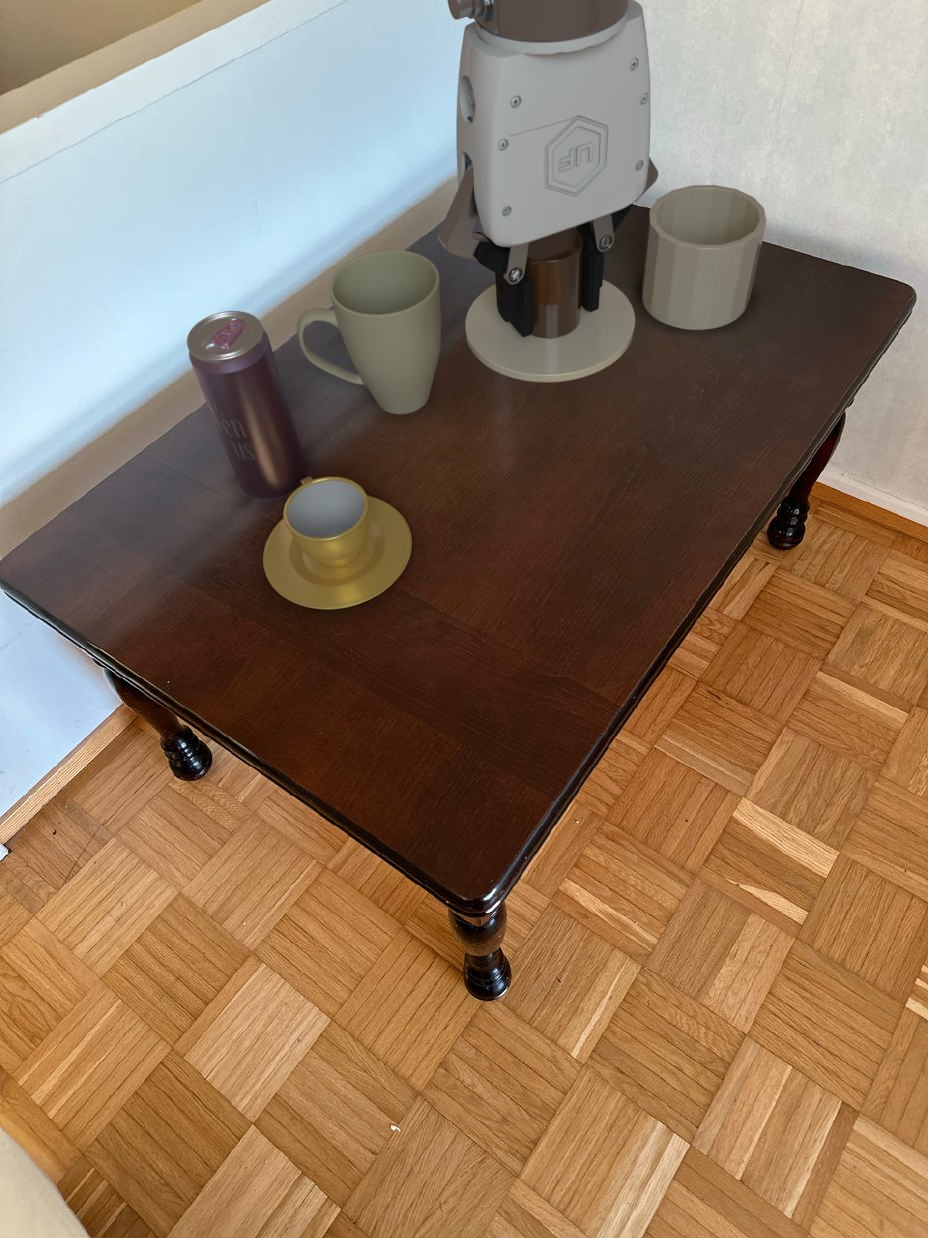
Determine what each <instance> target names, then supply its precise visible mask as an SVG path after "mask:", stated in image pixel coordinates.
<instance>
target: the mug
mask: <svg viewBox="0 0 928 1238" xmlns="http://www.w3.org/2000/svg"><path fill="white" fill-rule="evenodd" d="M440 285H441V284H440V273H439V270H438V268H437V266H436V265H435V263H433V262H432V261H431V260H430V259H429V258H427V257H426V256H424V255H422V254H420V253H417V252H413V251H409V250H404V249H382V250H375V251H371V252H367V253H364V254H362V255H361V254H360V255H359V256H356V257H354V258H352V259H350V260H348V261H347V262H346V263H344V264H343V265H341V267H339V268H338V269H337V270H336V272H334V274H333V275H332V277H331V279H330V282H329V287H328V288H329V295H330V299H331V303H332V306H333V308H323V307H313V308H309V309H307V310H305V311H303V312H302V313H301V314H300V315H299V317H298V320H297V324H296V334H297V340H298V344H299V347H300V349H301V351H302V353H303V355H304V356H305V358H306V359H307V360H308V361H309V362H310V363H312V364H313V365H314V366H315V367H317V368H319V369H320V370H322V371H324V372H326V373H328V374H330V375H331V376H334V377H336V378H339V379H341V380H344V381H346V382H349V383H352V384H356V385H358V386H359V385H360V386H365V387H366V388H367V390H368V391H369V392H370V394H371V395H372V397H373V399H374V400H375V402H376V403H377V405H378V406H379V407H380V408H381V409H382V410H383V411H385V412H387V413H389V414H393V415H408V414H412V413H414V412H416V411H419V410H420V409H422V407H424V406H425V405H426V404H427V402H429V401H428V400H429V399H430V395H431V392H432V391H431V390H432V387H433V382H434V380H435V375H436V370H437V367H438V362H439V358H440V352H441V346H442V345H441V344H442V342H441V341H442V314H441V313H442V312H441V286H440ZM315 321H316V322H324V323H326V324H330V325H332V326H334V327H335V328H337V329H338V330H339V331H340V334H341V336H342V340H343V342H344V346H345V348H346V350H347V353H348V356H349V359H350V360H351V362H352V364H353V367H354V369H355V370H356V372H357V373H355V372H351V371H349V370H347V369H345V368H342V367H340V366H338V365H336V364H333V363H331V362H330V361H328V360H326V359H324V358H322V357H320V356H319V355H318V354H316V353H315V352H313V351H312V350H311V349H310V348H309V346H308V345H307V342H306V339H305V329H306V327H307V326H308V324H310V323H312V322H315Z"/></svg>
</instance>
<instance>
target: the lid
mask: <svg viewBox="0 0 928 1238" xmlns="http://www.w3.org/2000/svg"><path fill="white" fill-rule="evenodd" d="M582 263H583V238H582V236H581V234H580V233H579V232H578V231H577V230H576V228H575V227H573V228H570V229H567V230H564V231H562V232H559V233H556V234H553V235H550V236H547V237H544V238H542V239H539V240H536V241H533V242H530V243H529V249H528V255H527V261H526V267H525V273H526V274H527V275H528V276H529V277H530V278H531V279H532V282H533V307H534V331H533V332H532V334H531V335H529V336H526V337H522V336H521V335H520V334H519V332H518V331H517V330H516V329H515V328H514V327H513V325H512V324H511V323H510V322H505V321H504V320H503V319H502V318H501V316H500V314H499V312H498V309H497V299H496V283H494V284H492V285H491V286H489V287H488V288H486V289H484V290H483V291H482V292H481V293H480V294H479V295H478V296H477V297H476V298H475V299H474V300H473V302H472V303H471V305H470V307H469V309H468V311H467V313H466V317H465V321H464V329H465V338H466V342H467V344H468V347H469V349H470V350H471V352H472V354H473V355H474V356H475V358H477V359H478V361H479V362H481V363H482V364H483V365H485V366H486V367H487V368H489V369H491V370H492V371H495V373H498V374H501V375H503V376H506V377H508V378H512V379H516V380H519V381H525V382H531V383H532V382H534V383H561V382H568V381H574V380H578V379H583V378H585V377H588V376H591V375H594V374H596V373H599V372H601V371H603V370H604V369H606V368H607V367H609V366H611V365H613V363H615V362H616V361H617V360H619V358H621V357H622V356H623V355H624V353H625V352H626V351H627V349H628V348H629V347H630V346H631V343H632V341H633V339H634V335H635V330H636V314H635V310H634V307H633V305H632V303H631V301H630V300H629V298H628V297H627V296H626V294H624V293H623V291H622V290H621V289H619V288H618V287H617V286H615V285H614V284H612V283H610V282H609V281H607V280H605V279H603V284H602V287H601V288H600V296H599V309H598V310H595V311H593V312H589V311H586V310H585V309H584V308H583V307H582V306H581V291H582Z"/></svg>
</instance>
